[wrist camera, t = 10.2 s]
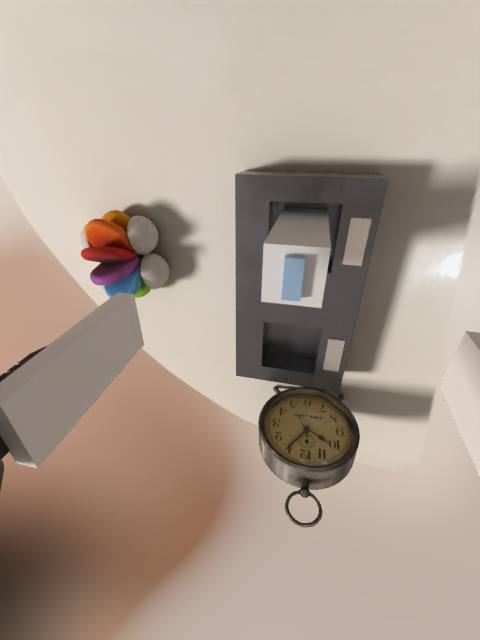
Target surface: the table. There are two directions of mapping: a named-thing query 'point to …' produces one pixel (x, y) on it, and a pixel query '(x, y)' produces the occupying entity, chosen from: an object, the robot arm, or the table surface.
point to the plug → (296, 258)
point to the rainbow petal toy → (124, 254)
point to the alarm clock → (307, 441)
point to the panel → (341, 281)
